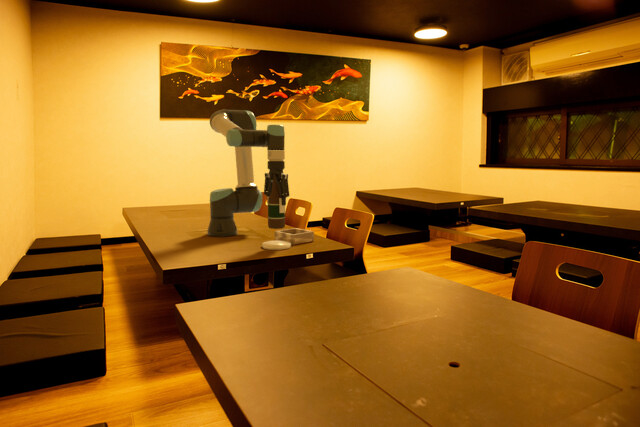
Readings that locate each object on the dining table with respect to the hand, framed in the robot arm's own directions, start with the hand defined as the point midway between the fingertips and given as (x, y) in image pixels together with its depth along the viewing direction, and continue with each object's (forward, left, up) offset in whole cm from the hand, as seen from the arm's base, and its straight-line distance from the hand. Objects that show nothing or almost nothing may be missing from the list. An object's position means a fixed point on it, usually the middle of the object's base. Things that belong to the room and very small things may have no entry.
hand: (276, 211), depth 196 cm
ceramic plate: (0, 0, -16) cm, 16 cm away
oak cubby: (-5, +15, -16) cm, 23 cm away
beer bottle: (0, 0, -7) cm, 7 cm away
